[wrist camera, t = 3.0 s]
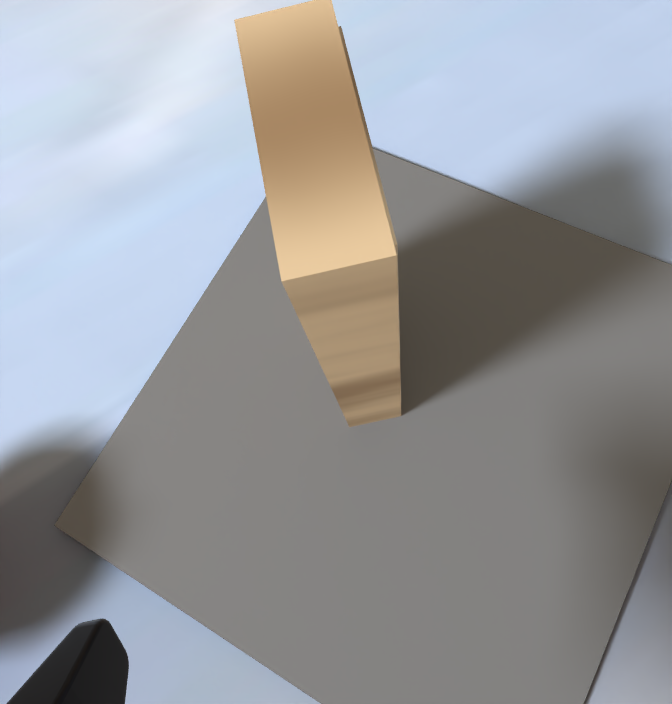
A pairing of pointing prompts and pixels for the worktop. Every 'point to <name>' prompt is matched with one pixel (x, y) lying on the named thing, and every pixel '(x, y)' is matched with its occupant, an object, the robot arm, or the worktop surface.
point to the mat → (407, 462)
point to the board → (326, 202)
